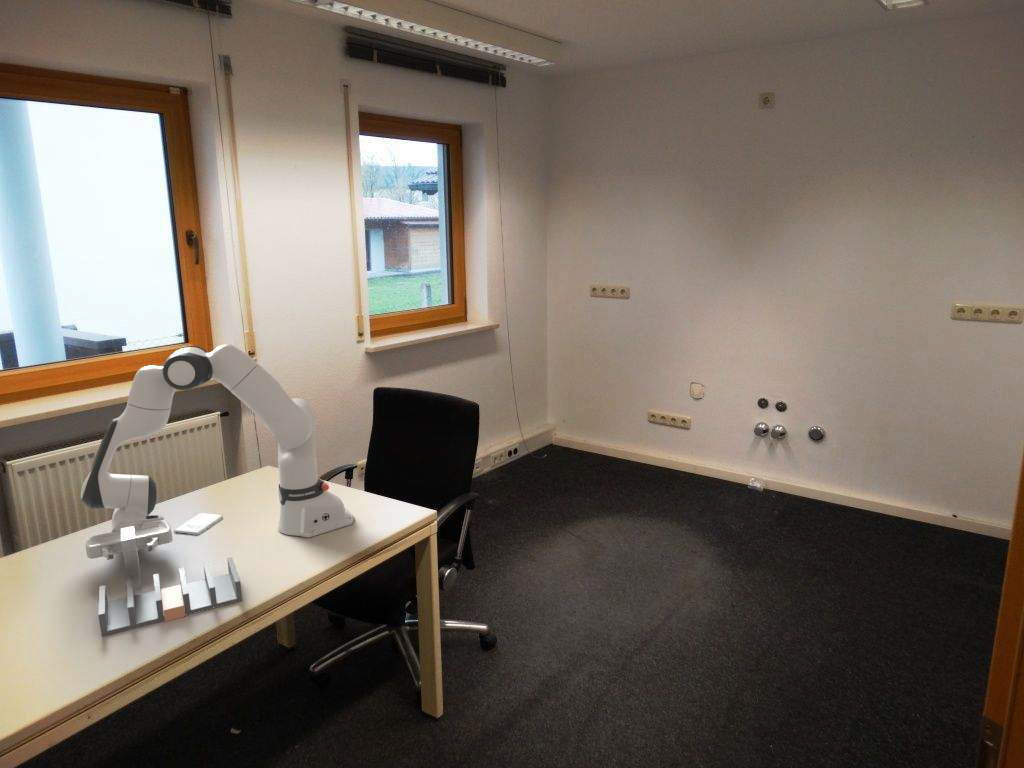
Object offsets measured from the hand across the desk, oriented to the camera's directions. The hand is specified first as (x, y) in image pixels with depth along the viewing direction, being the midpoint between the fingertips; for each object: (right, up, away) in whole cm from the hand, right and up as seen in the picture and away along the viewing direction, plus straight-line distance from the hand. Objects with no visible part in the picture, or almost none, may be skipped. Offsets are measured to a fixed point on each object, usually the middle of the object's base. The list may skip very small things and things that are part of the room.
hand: (130, 552), depth 177 cm
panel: (+1, -8, +1) cm, 8 cm away
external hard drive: (+2, -1, +34) cm, 34 cm away
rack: (+15, -10, -9) cm, 21 cm away
